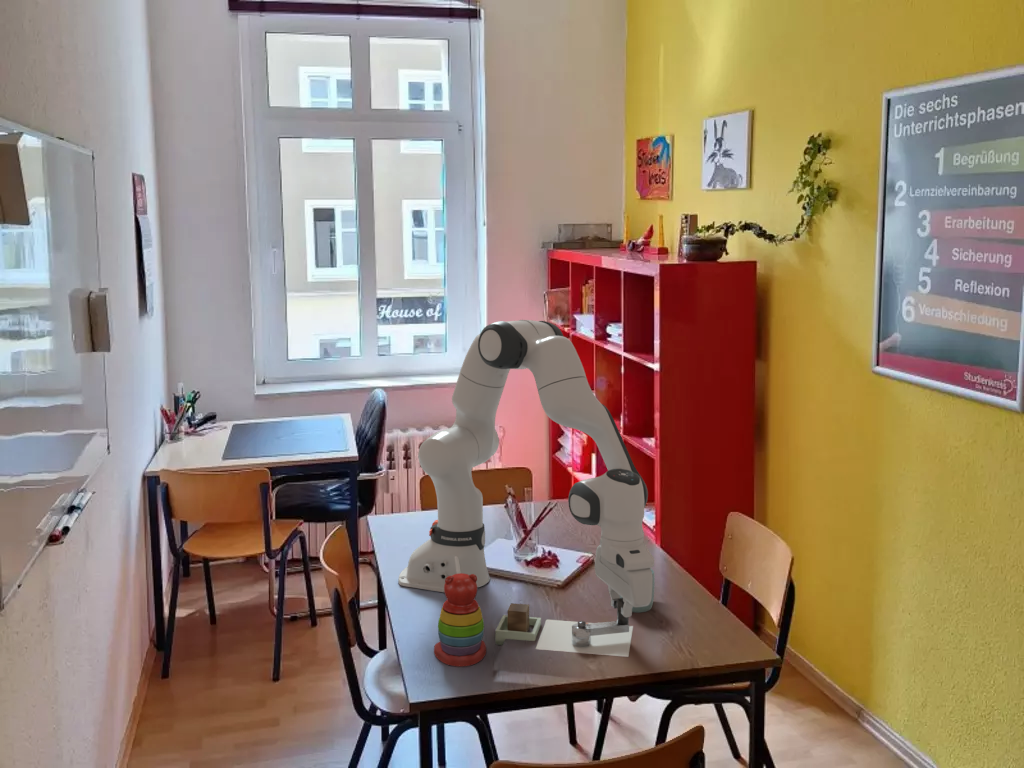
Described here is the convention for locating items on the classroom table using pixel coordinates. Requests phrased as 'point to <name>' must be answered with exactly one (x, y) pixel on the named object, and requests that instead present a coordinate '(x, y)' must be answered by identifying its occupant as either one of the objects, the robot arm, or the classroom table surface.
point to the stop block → (518, 617)
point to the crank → (599, 628)
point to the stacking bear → (460, 623)
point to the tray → (504, 634)
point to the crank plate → (560, 639)
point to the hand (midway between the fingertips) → (621, 611)
